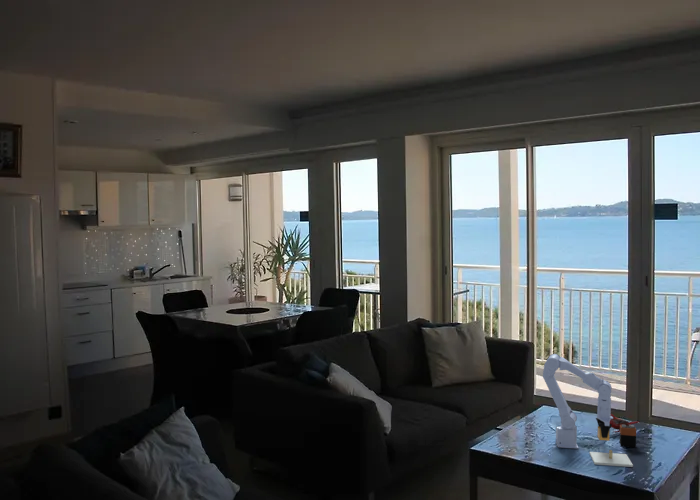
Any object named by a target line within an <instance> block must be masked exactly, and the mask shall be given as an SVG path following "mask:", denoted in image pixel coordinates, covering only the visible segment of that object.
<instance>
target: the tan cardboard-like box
mask: <svg viewBox="0 0 700 500" xmlns="http://www.w3.org/2000/svg"><path fill="white" fill-rule="evenodd" d="M610 430H611V429H610ZM610 430H609V433H608V436H607V438H602V435H601V428H600V426H598V425H597V438H598V440H599V441H610Z"/></svg>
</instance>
